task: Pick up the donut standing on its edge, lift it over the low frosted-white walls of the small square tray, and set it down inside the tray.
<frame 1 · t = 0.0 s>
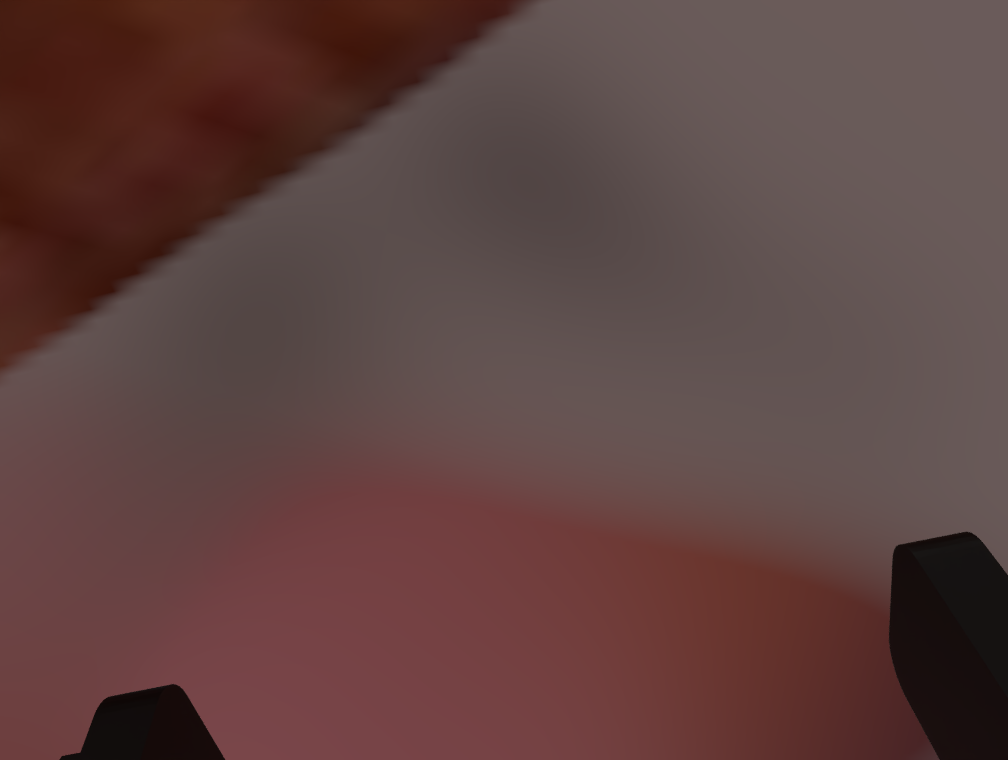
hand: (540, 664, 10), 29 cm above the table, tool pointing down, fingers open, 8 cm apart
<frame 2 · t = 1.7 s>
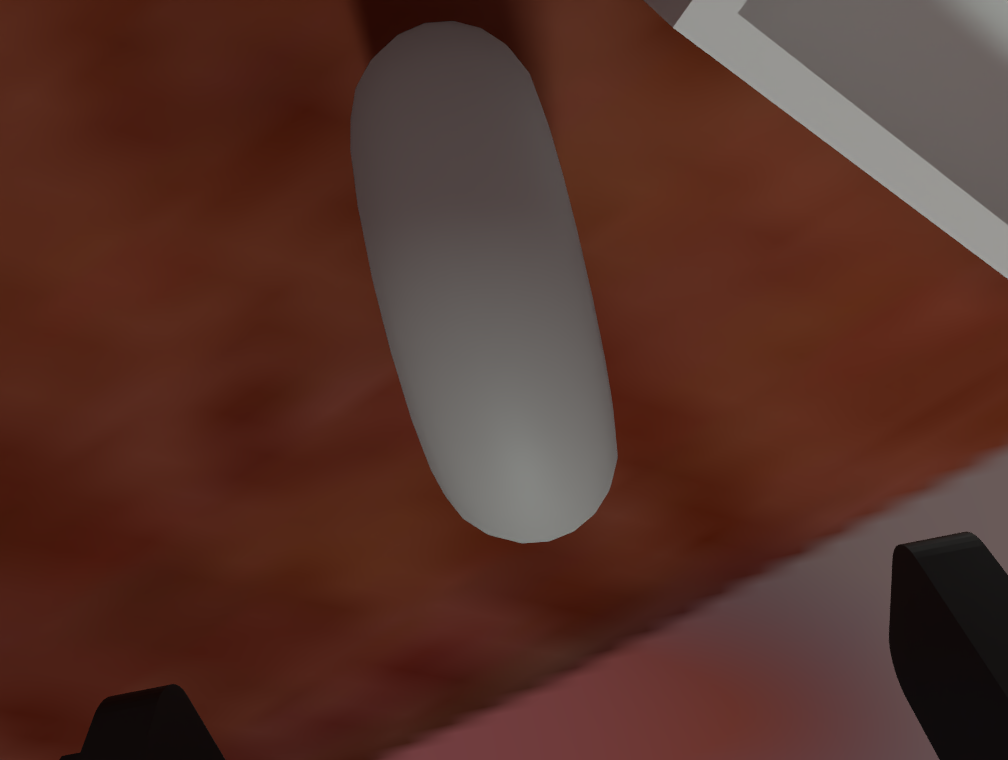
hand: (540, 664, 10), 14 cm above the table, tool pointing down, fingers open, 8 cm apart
donut: (476, 191, 22), on the table
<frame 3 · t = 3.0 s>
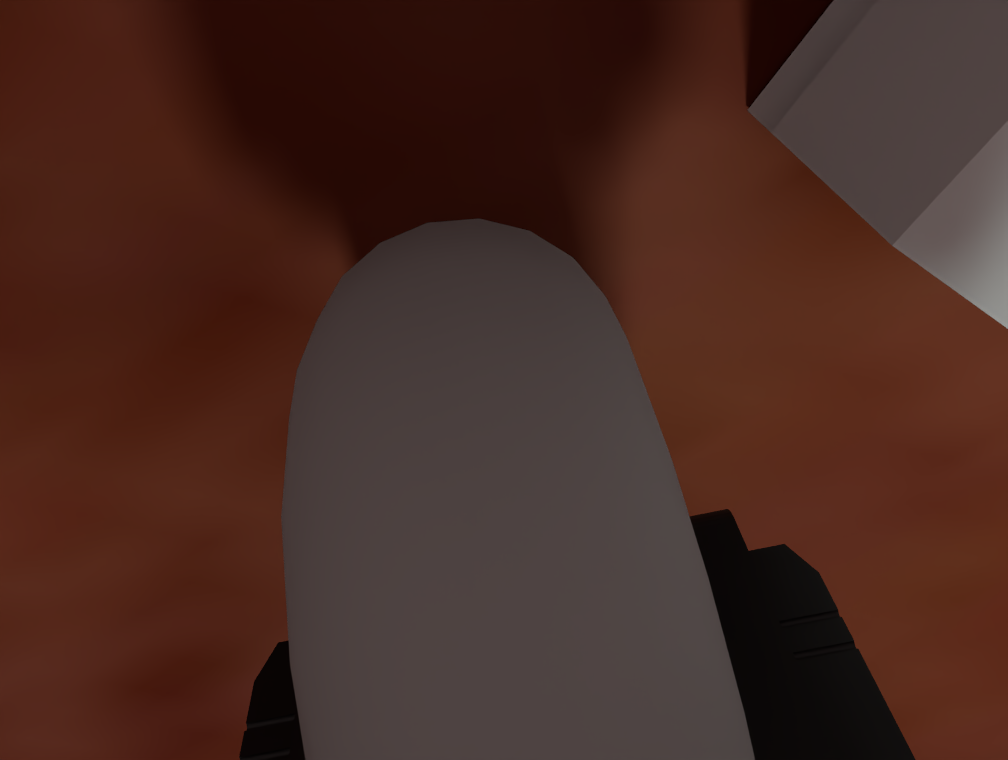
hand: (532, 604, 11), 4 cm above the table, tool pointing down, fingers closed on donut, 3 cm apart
donut: (505, 403, 15), on the table, touching gripper
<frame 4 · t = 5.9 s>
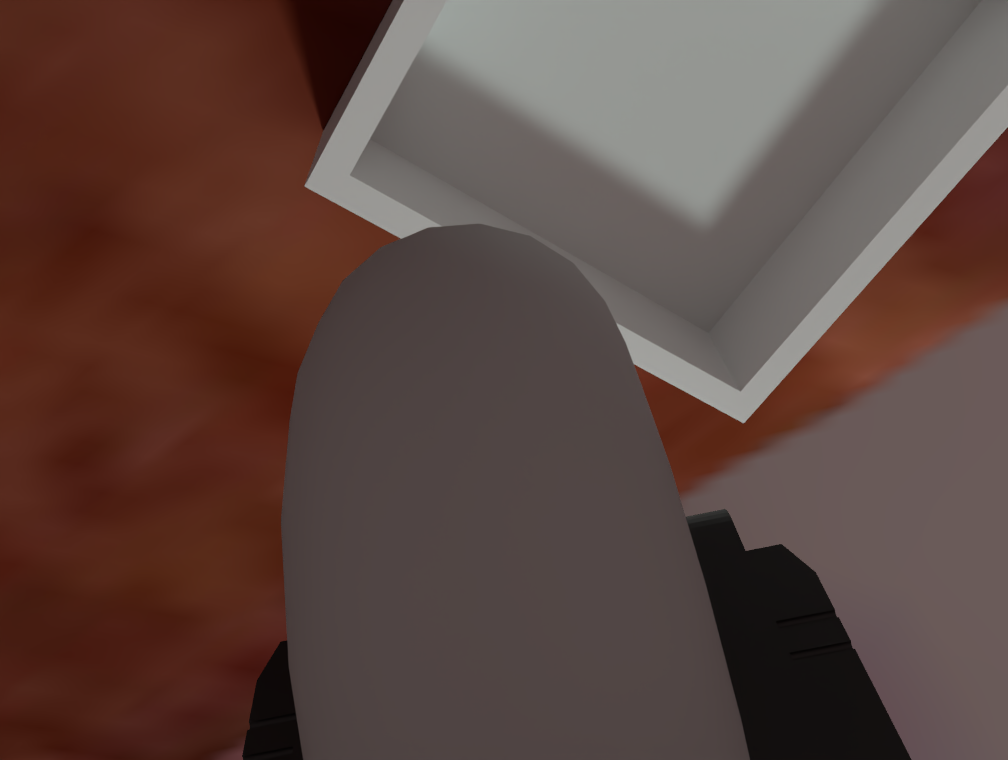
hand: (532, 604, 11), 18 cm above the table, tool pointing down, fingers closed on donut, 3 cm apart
donut: (506, 406, 15), point 14 cm above the table, touching gripper
walled tray: (666, 46, 25), on the table
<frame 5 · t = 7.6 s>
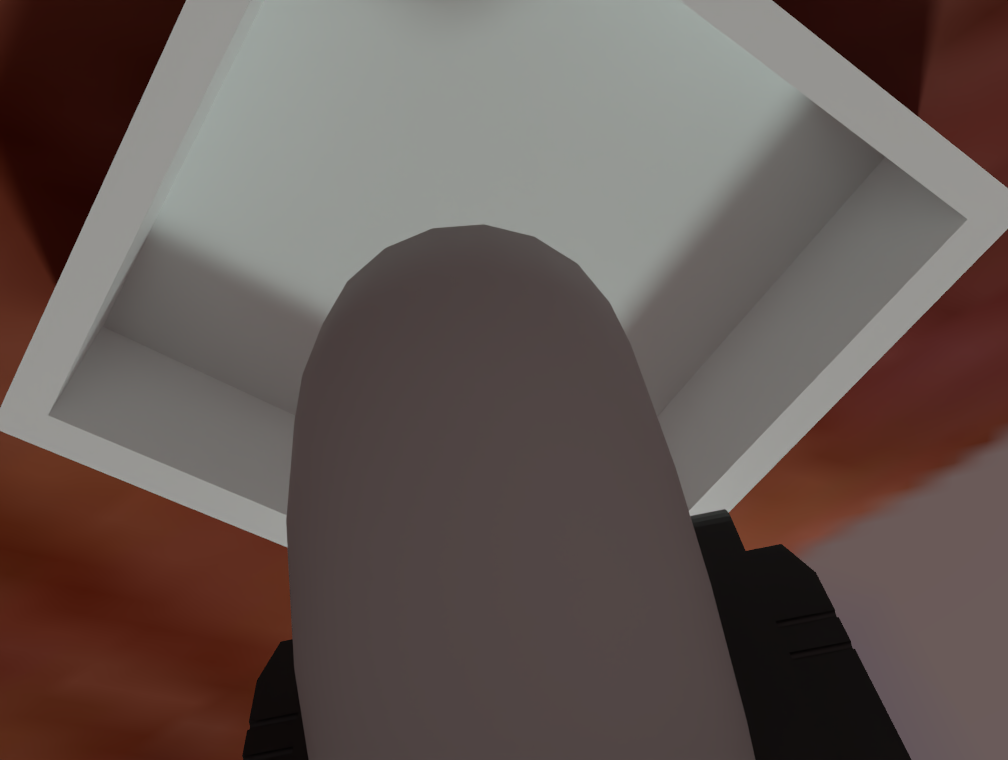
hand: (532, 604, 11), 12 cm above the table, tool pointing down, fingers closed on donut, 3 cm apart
donut: (508, 406, 15), point 7 cm above the table, touching gripper
walled tray: (483, 225, 21), on the table
when the fingers open (7 cm above the table, at t = 8.9 s): donut stays where it is, resting on walled tray.
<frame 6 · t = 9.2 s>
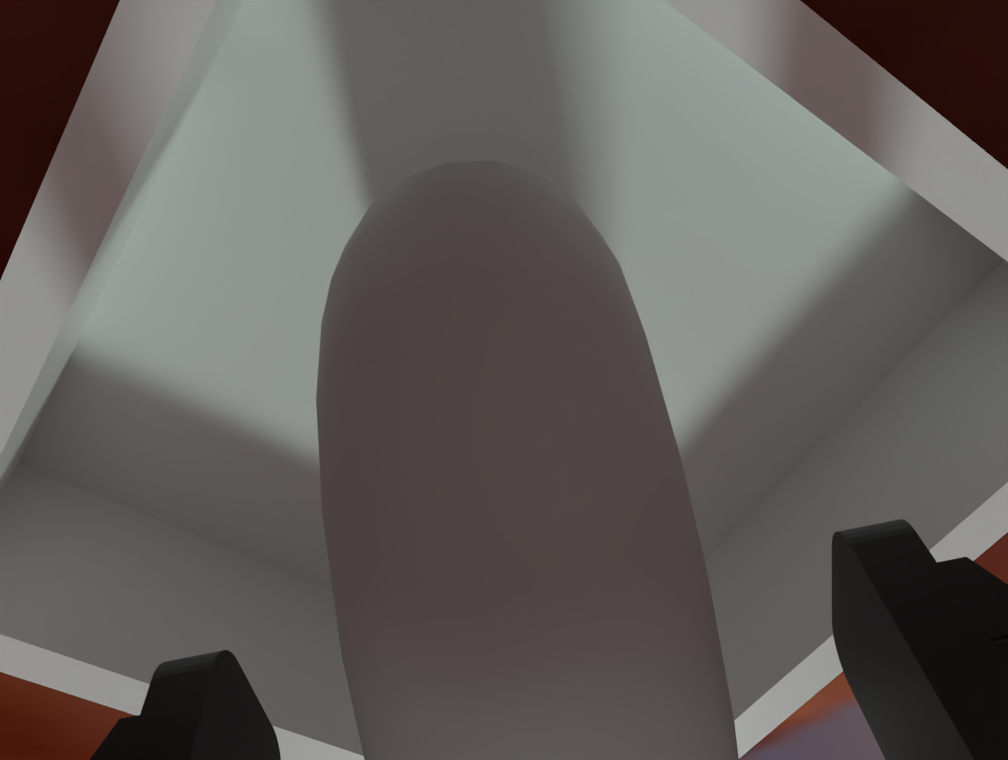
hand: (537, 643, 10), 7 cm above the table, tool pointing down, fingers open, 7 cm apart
donut: (502, 353, 16), point 1 cm above the table, touching walled tray
walled tray: (496, 335, 17), on the table
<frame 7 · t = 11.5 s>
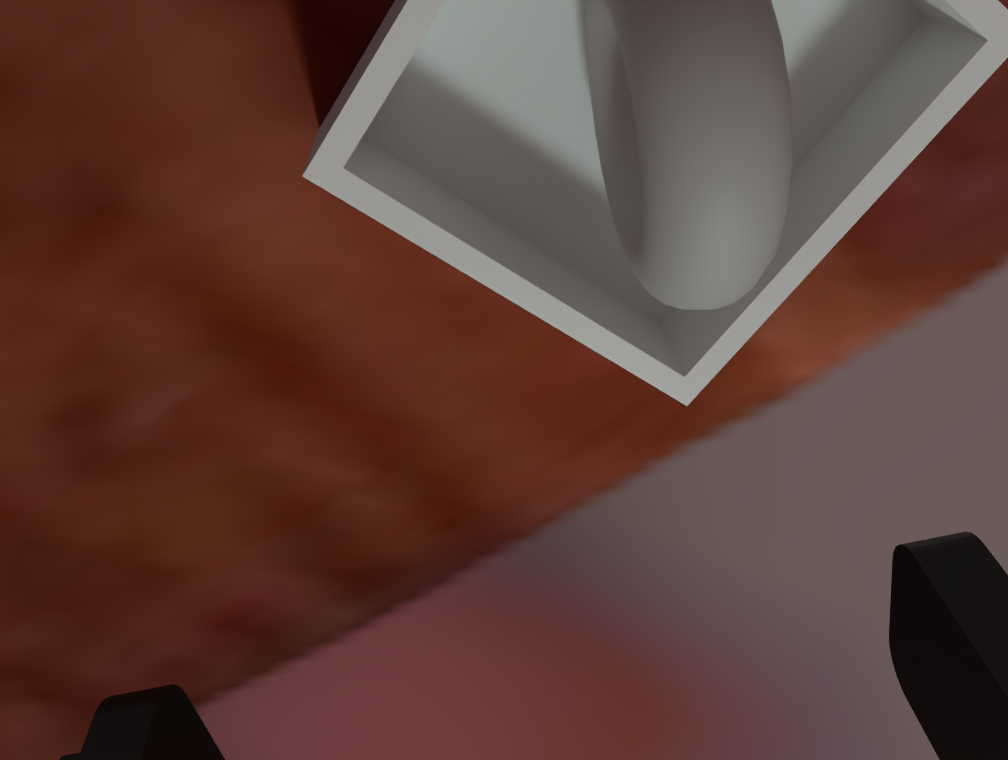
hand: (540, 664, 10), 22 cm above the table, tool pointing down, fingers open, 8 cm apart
donut: (637, 69, 28), point 1 cm above the table, touching walled tray
walled tray: (630, 66, 28), on the table
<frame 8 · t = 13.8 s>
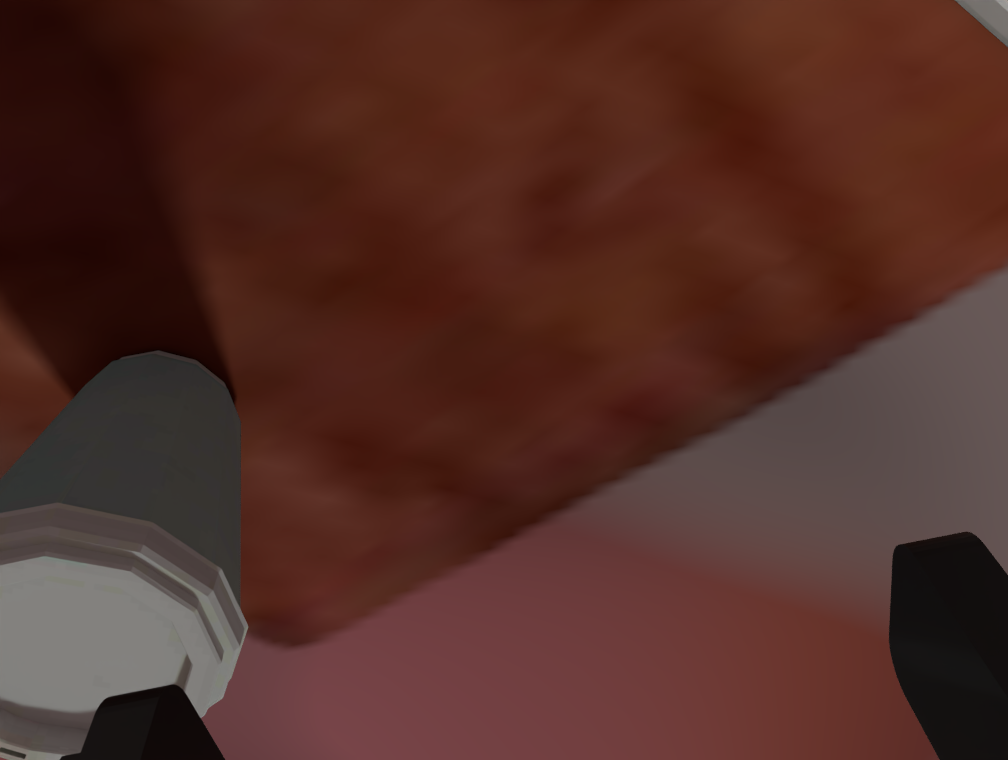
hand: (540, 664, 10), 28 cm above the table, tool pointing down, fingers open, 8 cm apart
disposable coffee cup: (174, 409, 41), on the table
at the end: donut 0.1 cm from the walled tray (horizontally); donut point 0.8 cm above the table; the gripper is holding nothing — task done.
